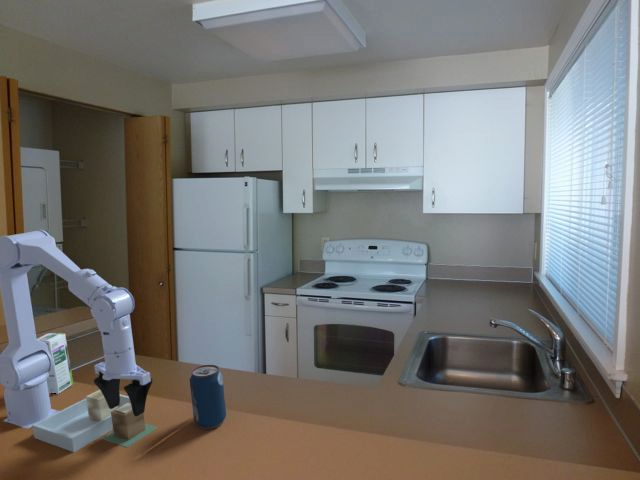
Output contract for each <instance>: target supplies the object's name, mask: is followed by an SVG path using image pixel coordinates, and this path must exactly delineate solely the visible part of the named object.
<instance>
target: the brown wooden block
mask: <svg viewBox="0 0 640 480" xmlns="http://www.w3.org/2000/svg"><path fill="white" fill-rule="evenodd" d="M111 417H112V424H113V429H112V432H114V436H115V437H119V438H122V439H125V440H128V441H129V440H131V439H132V438H134V437H135V436H137V435H138V434H140V433H141V432H143V431H144V430H145V424H146V423H145V414H144V413H142V414H140V415H139V416H134V414H133V411H132V406H131V403H130V402H127V403H125V404H123V405H122V406H120V407H118V408H116V409H115V410H113V411H111Z"/></svg>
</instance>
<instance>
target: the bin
mask: <svg viewBox="0 0 640 480" xmlns="http://www.w3.org/2000/svg"><path fill="white" fill-rule="evenodd" d="M127 402H130V399H129V396H128V395H123V394H121V393H120V404H119V405H118V407H120V406H122V405H123V404H125V403H127ZM130 403H131V402H130ZM58 411H59V412H58ZM58 411H56V412H57V413H55V414H54V415H52V416H50V417H48V418H46V419H44V420H42V421H40V422H38V423H36V424H34V425H32V431H33V436H34V439H37V440H39V441H42V442H45V443H48V444H49V445H53V446H56V447H59V448H62V449H64V450H67V451H69V452H72V453H76V452H77V451H79V450H80V449H82V448H84V447H85V446H87V445H90V444H91V443H92V442H94V441H95V440H96V441H97V439H99V438H100V437H101V438H102V436H103V435H106V434H107V433H110V431H113V424H112V417H111V415H110V416H108V417H106V418H105V419H103V420H101V421H99V422H97V421H93V420H90V419H89V414H88V407H87V400H86V397H85V398H84V399H82V400H80V401H77V402H75V403H74V404H71V405H69V406H68V407H65V408H63V409H62V410H58Z"/></svg>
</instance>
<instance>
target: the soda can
mask: <svg viewBox="0 0 640 480" xmlns="http://www.w3.org/2000/svg"><path fill="white" fill-rule="evenodd" d="M189 387H190V397H191V407H192V415H193V421H194V423H195V424H196V425H197V426H198V427H199V428H201V429H204V430H210V429H215V428H217V427H219V426H221V425H222V424H223V423H224V421H225V419H226V417H227V409H226V408H227V406H226V398H225V387H224V377H223V374H222V372H221V371H220V368H219V366H217V365H215V364H204V365H200V366H198V367H195V368H194V369H192V370H191V376H190V378H189ZM214 427H215V428H214Z"/></svg>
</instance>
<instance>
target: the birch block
mask: <svg viewBox="0 0 640 480" xmlns="http://www.w3.org/2000/svg"><path fill="white" fill-rule="evenodd" d="M85 398H86V400H87V407H88V414H89V419H90V420H93V421H97V422H99V421H101V420H103V419H105V418H106V417H108V416H110V415H111V411H113V410H115V409H116V408H118V406H116V407H115V408H113V409H110V408H109V406H108V404H107V402H106V400H105V398H104V395H103V394H102V392H101V390H100V389H98V390H96V391H94V392H92V393H90V394H88V395H86V396H85Z"/></svg>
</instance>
